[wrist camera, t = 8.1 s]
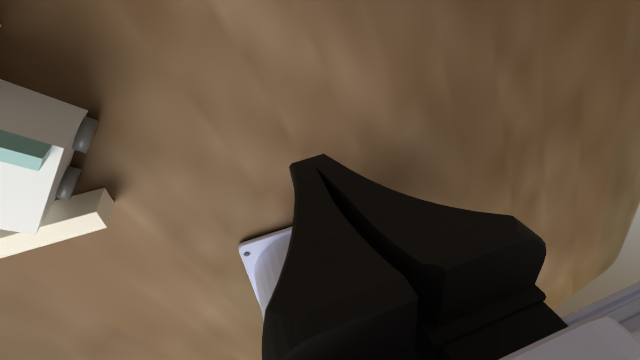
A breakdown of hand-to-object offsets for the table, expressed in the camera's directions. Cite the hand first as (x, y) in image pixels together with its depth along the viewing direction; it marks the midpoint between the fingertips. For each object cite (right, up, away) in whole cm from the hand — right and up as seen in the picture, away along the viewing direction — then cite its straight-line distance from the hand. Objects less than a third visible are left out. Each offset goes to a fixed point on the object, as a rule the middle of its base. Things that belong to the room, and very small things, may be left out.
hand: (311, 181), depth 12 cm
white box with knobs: (-16, +3, +5) cm, 16 cm away
